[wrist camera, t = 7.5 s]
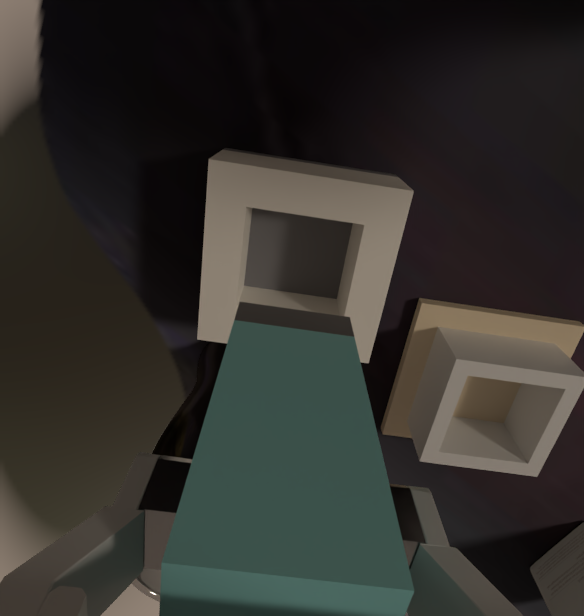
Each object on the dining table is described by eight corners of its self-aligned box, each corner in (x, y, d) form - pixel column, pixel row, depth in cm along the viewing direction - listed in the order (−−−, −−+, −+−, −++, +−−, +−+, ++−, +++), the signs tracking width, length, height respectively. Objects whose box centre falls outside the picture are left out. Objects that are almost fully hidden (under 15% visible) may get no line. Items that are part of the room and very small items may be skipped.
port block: (225, 147, 26) (208, 159, 21) (395, 174, 26) (413, 191, 22) (213, 302, 30) (197, 339, 26) (359, 323, 31) (368, 363, 26)
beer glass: (276, 415, 34) (257, 625, 21) (186, 395, 34) (106, 599, 20) (299, 337, 31) (295, 525, 18) (200, 315, 31) (118, 490, 17)
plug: (239, 301, 16) (161, 563, 7) (349, 317, 16) (414, 591, 7) (229, 393, 18) (155, 701, 9) (329, 406, 18) (361, 721, 9)
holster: (419, 298, 30) (438, 333, 25) (579, 321, 30) (625, 359, 26) (380, 426, 34) (391, 475, 30) (519, 445, 35) (549, 495, 30)
